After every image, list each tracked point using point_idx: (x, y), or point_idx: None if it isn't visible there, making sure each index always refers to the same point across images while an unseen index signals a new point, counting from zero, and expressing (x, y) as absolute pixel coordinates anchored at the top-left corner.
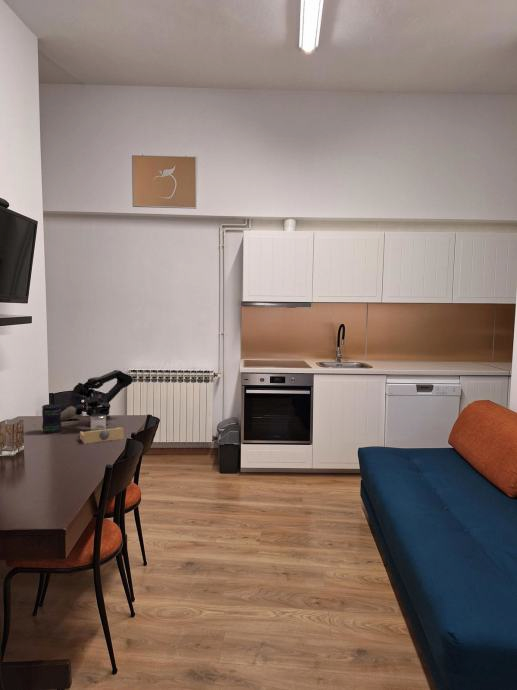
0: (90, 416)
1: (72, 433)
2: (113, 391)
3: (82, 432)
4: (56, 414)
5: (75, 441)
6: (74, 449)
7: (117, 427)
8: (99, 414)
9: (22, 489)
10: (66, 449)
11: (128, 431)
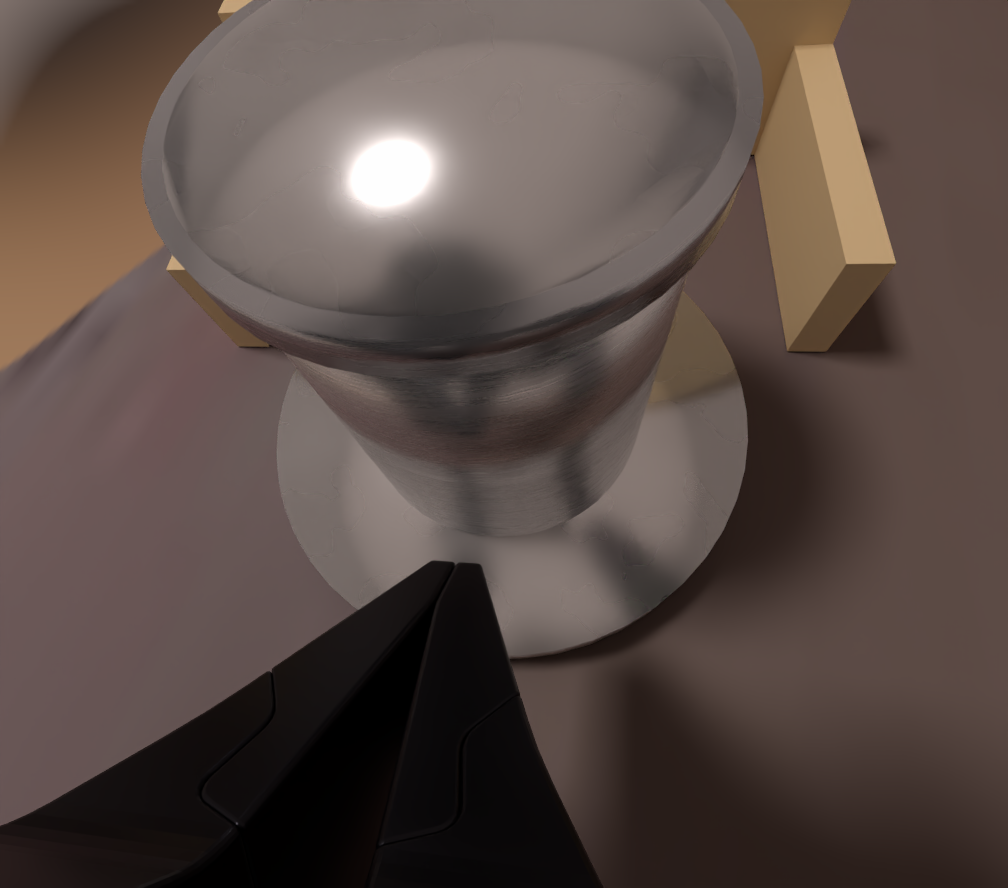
0: (736, 95)
1: (994, 863)
2: None
3: (845, 199)
4: None
5: (900, 265)
6: (905, 16)
7: (181, 266)
8: (281, 267)
9: None
10: (1001, 36)
11: (31, 430)
